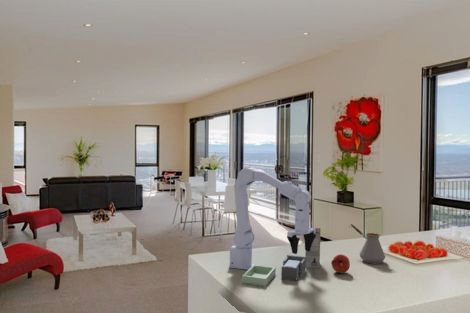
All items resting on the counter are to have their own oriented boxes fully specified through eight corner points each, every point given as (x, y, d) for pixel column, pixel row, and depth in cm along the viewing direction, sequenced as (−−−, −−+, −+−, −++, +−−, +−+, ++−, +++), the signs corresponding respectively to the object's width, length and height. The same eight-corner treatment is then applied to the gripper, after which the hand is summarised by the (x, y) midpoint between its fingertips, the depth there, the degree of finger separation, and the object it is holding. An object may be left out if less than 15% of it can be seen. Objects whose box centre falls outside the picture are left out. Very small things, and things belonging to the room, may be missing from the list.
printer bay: (282, 273, 173) (283, 259, 172) (287, 268, 180) (287, 254, 180) (302, 276, 170) (302, 261, 170) (305, 270, 178) (305, 256, 177)
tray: (241, 283, 160) (241, 275, 160) (253, 271, 175) (253, 264, 175) (265, 286, 157) (265, 278, 157) (275, 274, 172) (275, 267, 171)
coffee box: (305, 261, 192) (306, 227, 191) (319, 262, 190) (320, 228, 190) (304, 267, 183) (305, 231, 182) (319, 268, 181) (320, 232, 181)
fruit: (327, 272, 175) (327, 254, 175) (336, 268, 181) (337, 250, 181) (344, 277, 170) (344, 258, 170) (353, 272, 176) (353, 254, 176)
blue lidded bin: (281, 279, 166) (281, 265, 166) (287, 271, 176) (287, 258, 176) (296, 281, 164) (296, 267, 164) (301, 273, 174) (301, 260, 174)
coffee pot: (390, 263, 191) (391, 231, 190) (371, 266, 186) (372, 233, 185) (358, 252, 210) (359, 223, 210) (340, 254, 205) (341, 224, 205)
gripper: (296, 222, 162) (295, 256, 163) (321, 219, 171) (320, 251, 171) (284, 219, 168) (283, 252, 168) (308, 216, 177) (307, 248, 177)
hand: (301, 252), depth 170 cm, fingers open, 7 cm apart
